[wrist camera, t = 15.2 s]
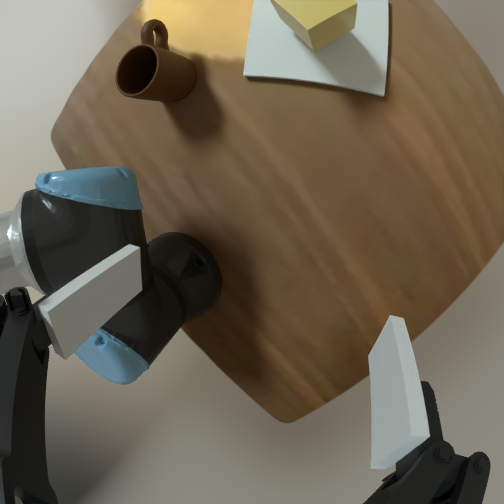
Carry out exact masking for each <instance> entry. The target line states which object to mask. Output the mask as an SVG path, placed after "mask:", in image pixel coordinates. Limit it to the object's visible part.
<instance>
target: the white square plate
mask: <svg viewBox="0 0 504 504" xmlns="http://www.w3.org/2000/svg"><path fill="white" fill-rule="evenodd" d="M355 1H356V2H357V3H358V4H357V14H356V22H355V28H354V29H352V30H351V31H349V32H347V33H345V34H343V35H342V36H340V37H338V38H336V39H335V40H333V41H331V42H329V43H328V44H326V45H324V46H323V47H321V48H319V49H318V50H316V51H315V52H314V51H313V50H312V49H311V48H310V47H309V46H308V45H307V44H306V43H305V42H304V41H303V40H302V39H301V38H300V37H299V36H298V35H297V34H296V33H295V32H294V31H293V30H292V29H291V28H290V27H289V26H288V25H286V24H285V23H284V22H283V21H282V20H281V19H280V17H279V15H278V14H277V12H276V10H275V8H274V6H273V5H272V3H271V1H270V0H254V4H253V10H252V16H251V23H250V30H249V36H248V43H247V50H246V57H245V65H244V72H243V75H244V76H245V77H262V78H276V79H287V80H296V81H304V82H312V83H319V84H325V85H331V86H336V87H342V88H347V89H352V90H356V91H361V92H365V93H369V94H373V95H377V96H381V97H383V96H384V93H385V83H386V70H387V55H388V0H355Z"/></svg>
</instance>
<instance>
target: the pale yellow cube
mask: <svg viewBox="0 0 504 504" xmlns="http://www.w3.org/2000/svg"><path fill="white" fill-rule="evenodd" d="M270 1H271V3H272V5H273V6H274V8H275V10H276V12H277V14H278V15H279V17H280V19H281V20H282V21H283V22H284V23H285V24H286V25H288V26H289V27H290V28H291V29H292V30H293V31H294V32H295V33H296V34H297V35H298V36H299V37H300V38H301V39H302V40H303V41H304V42H305V43H306V44H307V45H308V46H309V47H310V48H311V49H312V50H313V51H314V52H315V51H316V50H318V49H319V48H321V47H323V46H324V45H326V44H328V43H329V42H331V41H333V40H335V39H336V38H338V37H340V36H342V35H343V34H345V33H347V32H349V31H351V30H352V29H354V28H355V22H356V14H357V4H358V3H357V2H356V1H355V0H270Z"/></svg>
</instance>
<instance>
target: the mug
mask: <svg viewBox="0 0 504 504" xmlns="http://www.w3.org/2000/svg"><path fill="white" fill-rule="evenodd" d="M153 30H154V32H155V34H156V44H155V46H154V37H153ZM141 42H142V44H140V45H137V46H135V47H133V48H132V49H130V50H129V51H128V52H127V53H126V54H125V55H124V56H123V58H122V59H121V61H120V62H119V65H118V67H117V70H116V85H117V88H118V90H119V91H120V92H121V93H122V94H123V95H124V96H127V97H132V98H136V99H144V100H153V101H163V102H174V101H178V100H180V99H182V98H183V97H185V96H186V95H187V94H188V93H189V92H190V90H191V89H192V87H193V85H194V83H195V79H196V71H195V67H194V65H193V64H192V62H191V61H190V60H188V59H187V58H185V57H183V56H180V55H178V54H176V53H174V52H171V51H169V47H168V32H167V29H166V27H165V25H164V24H163V23H162V22H161V21H159V20H157V19H153V20H149V21H148V22H146V23H145V24H144V26H143V28H142V30H141Z"/></svg>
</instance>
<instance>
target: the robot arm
mask: <svg viewBox="0 0 504 504" xmlns="http://www.w3.org/2000/svg"><path fill="white" fill-rule="evenodd" d="M35 186H36V189H33V190H30V191H27V192H24V193H23V194H22V195H21V197H20V199H19V201H18V203H17V205H16V207H15V208H14V210H12V211H9V212H6V213H3V214H0V504H15V498H14V495H15V496H17V497H19V498H20V499H21V500H22V502H23V504H58V501H57V497H56V494H55V492H54V490H53V489H52V487H51V486H50V483H49V480H48V472H47V462H46V448H45V394H46V380H47V369H48V360H49V348H48V346H49V345H50V344H52V345H53V348H54V350H55V352H56V353H57V354H58V355H60V356H61V357H62V358H64V359H65V360H66V359H67V358H68V357H69V356H70V355H72V354H73V353H75V354H76V355H77V356H78V357H79V358H80V359H81V360H82V361H83V362H84V363H85V364H86V365H87V366H88V367H90V368H91V369H92V370H94V371H95V372H96V373H97V374H99V375H100V376H102V377H104V378H105V379H107V380H109V381H111V382H114V383H117V384H124V385H125V384H130V383H132V382H134V381H135V380H136V379H137V378H138V377H139V376H140V375H141V374H142V373H143V372H144V371H146V370H148V368H149V366H150V365H151V363H152V362H153V361H154V360H155V359H156V357H157V356H158V355H159V354H160V352H161V351H162V350H163V348H164V347H165V346H166V345H167V343H168V342H169V341H170V340H171V339H172V337H173V336H174V334H176V332H177V331H178V330H179V329H180V327H181V326H182V325H183V324H184V323H186V322H187V321H189V320H191V319H193V318H195V317H198V316H200V315H202V314H204V313H206V312H207V311H208V310H209V309H210V308H211V307H212V305H213V304H214V303H215V302H216V300H217V299H218V297H219V294H220V291H221V275H220V271H219V268H218V265H217V263H216V261H215V259H214V258H213V256H212V255H211V253H210V252H209V251H208V250H207V249H206V248H205V246H203V245H202V244H201V243H200V242H199V241H197V240H196V239H194V238H192V237H190V236H188V235H186V234H182V233H178V232H169V233H164V234H162V235H160V236H158V237H156V238H155V239H153V240H151V241H150V242H149V243H148V244H147V242H146V237H145V231H144V225H143V218H142V211H141V209H143V204H142V203H141V202H140V196H139V191H138V185H137V179H136V176H135V174H134V173H133V172H132V171H131V170H130V169H129V168H127V167H123V166H110V167H95V168H82V169H72V170H64V171H56V172H48V173H42V174H39V175H38V176H37V178H36V183H35ZM26 286H32V287H33V288H35V289H36V290H38V291H39V292H40V293H42V294H43V295H45V296H44V297H43V298H41V299H40V300H38V301H37V302H35V303H34V304H32V303H31V300H30V297H29V294H28V291H27V289H26V288H24V287H26ZM4 293H6V294H5V295H4V297H5V299H4V297H3V296H2V295H1V294H4ZM5 300H6V302H7V305H6V302H5ZM368 357H369V370H370V385H371V386H370V387H371V419H372V437H371V439H372V440H371V441H372V442H371V469H389V468H390V467H391V466H393V465H394V464H396V471H395V472H393V473H392V474H390V475H389V476H387V477H386V478H384V479H383V480H382V481H383V482H384V481H385V482H384V483H383V484H382V485H381V486H380V487H379V488H378V489H377V490H376V492H375V493H374V494H372V496H370V498H368V499H367V500H366V501H365V503H363V504H482V501H483V497H484V494H485V490H486V486H487V482H488V477H489V473H490V460H489V458H488V456H487V455H486V454H485V453H483V452H476V453H474V454H473V455H471V456H470V457H469V458H467V457H464V456H461V455H457V454H455V452H454V449H453V447H452V446H451V445H450V444H449V443H448V442H446V441H444V440H443V436H442V430H441V424H440V418H439V413H438V411H437V409H438V408H437V404H436V403H435V402H436V399H435V395H434V391H433V389H432V388H431V386H430V384H429V383H428V382H425V381H420V378H419V374H418V369H417V366H416V361H415V358H414V353H413V350H412V346H411V342H410V339H409V335H408V332H407V328H406V325H405V322H404V319H403V318H400V317H396V316H392V315H390V316H389V318H388V320H387V322H386V324H385V326H384V328H383V330H382V332H381V334H380V336H379V338H378V339H377V341H376V343H375V345H374V347H373V348H372V350H371V352H370V354H369V356H368Z"/></svg>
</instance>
